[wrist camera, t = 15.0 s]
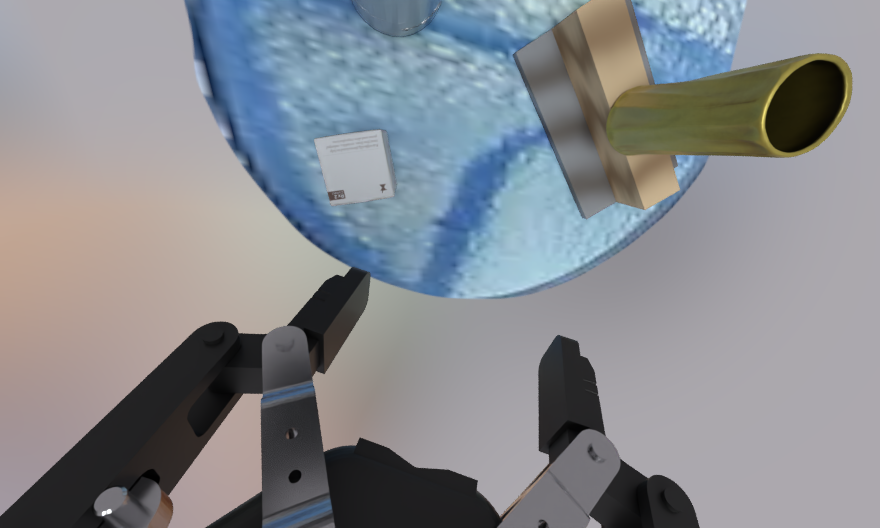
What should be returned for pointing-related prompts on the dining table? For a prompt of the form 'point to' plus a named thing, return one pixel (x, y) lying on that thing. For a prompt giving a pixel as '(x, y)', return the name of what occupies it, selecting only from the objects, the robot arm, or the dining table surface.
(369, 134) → the skincare box
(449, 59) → the dining table surface
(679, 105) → the vase
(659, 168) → the ridge
